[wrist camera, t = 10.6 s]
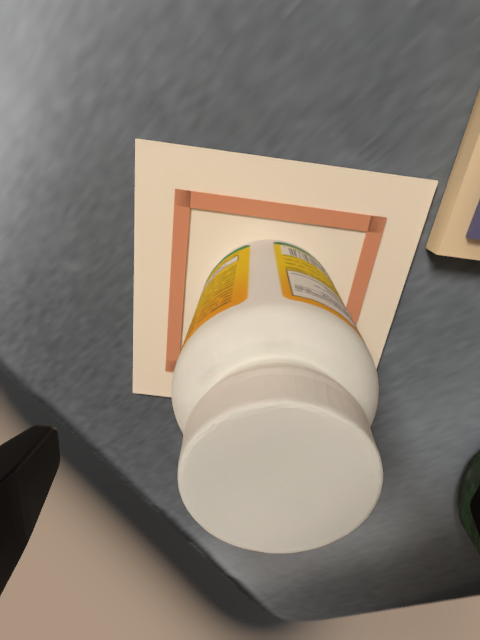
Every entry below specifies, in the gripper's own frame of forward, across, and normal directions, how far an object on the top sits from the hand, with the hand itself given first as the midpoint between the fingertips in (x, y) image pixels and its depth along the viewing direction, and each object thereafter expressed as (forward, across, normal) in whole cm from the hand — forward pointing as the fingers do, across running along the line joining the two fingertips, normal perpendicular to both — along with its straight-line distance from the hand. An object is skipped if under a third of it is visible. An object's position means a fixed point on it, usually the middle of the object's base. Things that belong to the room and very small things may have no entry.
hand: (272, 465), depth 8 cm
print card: (+9, 0, 0) cm, 9 cm away
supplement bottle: (+9, 0, 0) cm, 9 cm away
